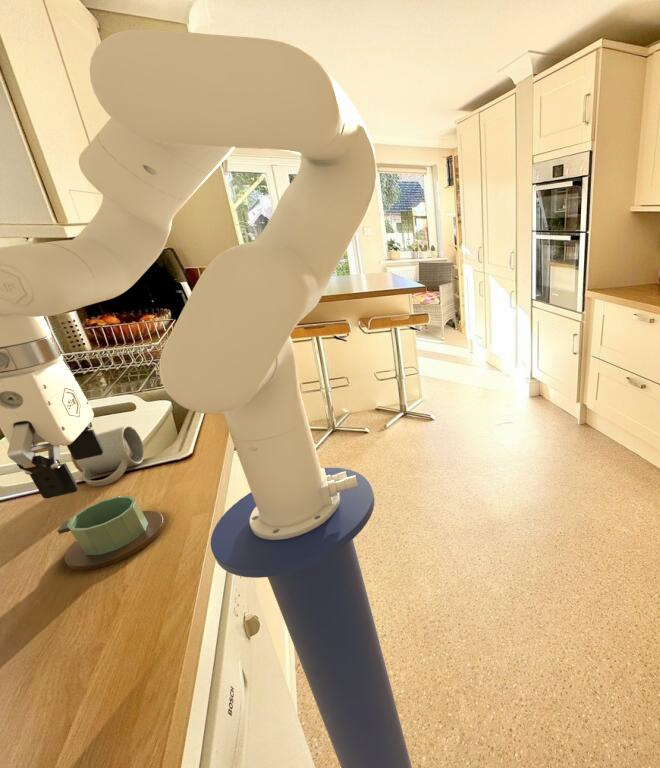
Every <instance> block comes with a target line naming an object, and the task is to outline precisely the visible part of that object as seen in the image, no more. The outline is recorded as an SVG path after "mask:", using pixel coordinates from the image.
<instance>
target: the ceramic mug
mask: <svg viewBox="0 0 660 768" xmlns="http://www.w3.org/2000/svg"><path fill="white" fill-rule="evenodd" d="M95 434H96V436H97V438H98V440H99V442H100V444H101V446H102V448H103V450H104V452H103V454H102V455H99V456H94V457H89V458H85V459H80V460H75V459H73V457H72V455H71V454H70V458H71V461H72V464H73V465H74V468H76V469H77V470H78V472H80V473H81V477H82V479H83V481H84V482H85V483H86V484H88V485H89V486H92V487H104V486H107V485H110V484H112V483H115V482H117V480H119V479H120V478H121V477H122V476H123V475H124V473H125V472H126V470H127V468H129V467H130V468H131V467H134V466H138V465H140V464H141V463H142V462H143V461H144V459H145V447H144V446H145V445H144V444H143V441H142V439H141V436H140V435H139V433H138V432H137V430H136V429H135V428H134V427H132V426H130V425H124V426H120V427H116V428H112V429H109V430H108V429H107V430H105V431H102V432H97V433H95ZM110 471H111V472H112V471H114V472H113V473H111V474H110V475H109V476H107V477H105V478H103V479H99V480H92V479H90V477H91V475H98V474H99V475H100V474H103V473H107V472H110Z"/></svg>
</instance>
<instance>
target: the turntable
mask: <svg viewBox="0 0 660 768" xmlns="http://www.w3.org/2000/svg"><path fill="white" fill-rule="evenodd" d="M142 512H143V514H144V516H145V518H146V520H147V522H148V525H147V527H146V530H145V532H143V533H142V534H141V535H140V536H139V537H138V538H136V539H135V540H134V541H132V542H131V543H129V544H127V545H125V546H123V547H121V548H119V549H117V550H114V551H111V552H108V553H105V554H101V555H86V554H85V553H84V552H83V551H82V550H81V548H80V547H79V545H78V543H77V542H76V540H75V541H74V542H72V544H71V545H70V546H69V547H68V548H67V550H66V551H65V553H64V556H63V557H64V558H63V559H64V562H65V564H66V565H67V567H68V568H70V569H71V570H75V571H91V570H96V569H101V568H104V567H107V566H110V565H114V564H116V563H118V562H120V561H123V560H126V559H127V558H129V557H131V556H133V555H135V554H136V553H137V552H140V551H141V550H143V549H144V548H146V547H147V546H148V545H150V544H151V543H152V542H154V540H156V539H157V537H159V535H160V534H161V533H162V531H163V530H164V528H165V525H166V524H165V523H166V522H165V519H164V517H163V515H162V514H161V513H160V512H158V511H154V510H142Z"/></svg>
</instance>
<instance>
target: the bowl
mask: <svg viewBox="0 0 660 768" xmlns="http://www.w3.org/2000/svg"><path fill="white" fill-rule="evenodd" d="M142 511H143V510H142V508H141V507H140V504H139V503H138V500H137V499H136V498H135V497H133V496H132V495H117V496H114V497H110V498H105V499H103V500H100V501H97V502H96V503H93V504H91V505H89V506H86V507H85V508H83V509H82V510H80V511H79V512H78V513H76V514H74V515H73V516H72V517H71V519H70V520H66V521H62V523H61V525H60V526H59V528H58V529H57V533H58V534H59V535H62V534H65V533H69V532H70V534H71V535H72V538H73V539H74V540H75V541H76V542H77V543H78V545H79V547H80V548H81V550H82V551H83V552H84V553H85V554H86V555H101V554H105V553H108V552H111V551H114V550H117V549H119V548H121V547H123V546H125V545H127V544H129V543H131V542H132V541H134V540H135V539H136V538H138V537H139V536H140V535H141V534H142V533H143V532H145V530H146V527H147V525H148V522H147V520H146V518H145V516H144V514H143V512H142Z"/></svg>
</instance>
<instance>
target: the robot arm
mask: <svg viewBox="0 0 660 768" xmlns="http://www.w3.org/2000/svg"><path fill="white" fill-rule="evenodd" d="M89 77H90V78H89V79H90V83H91V86H92V90H93V93H94V94H95V97H96V99H97V101H98V102H99V104H100V105H101V107H102V108H103V110H104V111H105V112H106V113H107V114H108V116H109V119H108V120H107V121H106V123H105V124H104V125H103V126H102V128H101V129H100V130H99V131H98V132H97V134H96V135H95V136H94V138H93V139H92V140H91V141H90V143H88V144H87V146H86V147H85V148H84V149H83V150H82V151H81V153H80V154H79V157H78V165H79V169H80V171H81V173H82V175H83V176H84V178H85V179H86V180H87V181H88V183H90V184H91V186H92V187H94V188H95V190H97V191H98V192H99V193H100V194H101V195H102V201H101V204H100V207H99V208H98V210H97V212H96V213H95V214H94V216H93V217H92V218H91V220H90V221H89V222H88V224H86V225H85V227H84V228H83V229H82V230H81V231H80V232H79V234H77V235H76V236H75V237H74V238H72V239H64V240H63V239H62V240H55V241H44V242H35V243H28V244H27V243H25V244H16V245H9V246H2V247H0V430H1V432H2V434H3V436H4V438H5V439H6V440H7V442H8V444H9V445H8V449H7V457H8V458H9V459H10V460H11V461H13V462H14V463H16V466H17V467H18V468H19V469H20V470H23V471H24V474H25V475H27V476H30V479H31V480H32V482H33V483H34V485H35V487H36V488H37V490H38V492H39V493H40V495H41V497H42V498H43V499H46V500H47V499H52V498H56V497H60V496H61V497H62V496H65V495H70V494H73V493H76V492H78V490H79V487H80V486H79V485H78V483H77V482H76V480H75V478H74V476H73V474H72V472H71V470H70V469H69V467H68V465H67V463H66V462H65V463H61V449H60V446H63V447H67V449H68V451H69V453H70V456H71V455H72V457H73V459H75V460H80V459H85V458H89V457H94V456H99V455H102V454H103V452H104V450H103V448H102V446H101V444H100V442H99V440H98V438H97V436H96V434H97V433H96V432H95V430H94V429H93V423H92V420H94V411H93V409H92V407H91V405H90V402H89V401H88V399H87V397H86V396H85V394H84V392H83V390H82V388H81V386H80V385H79V382H78V381H77V380H76V378H75V376H74V375H73V373H72V371H71V370H70V368H69V367H68V366H67V364H66V363H65V361H64V357H63V354H62V353H61V350H60V348H59V347H58V345H57V342H56V340H55V338H54V336H53V335H52V331H51V330H50V327H49V326H48V323H47V321H46V319H45V318H44V317H50V316H57V315H60V314H61V315H62V314H64V313H68V312H71V311H74V310H75V311H76V310H77V309H81V308H83V307H87V306H90V305H94V304H98V303H101V302H104V301H109V300H111V299H115V298H116V297H119V296H121V295H122V294H124V293H125V292H127V291H128V290H129V289H130V288H132V287H133V286H134V285H135V284H136V283H137V282H138V280H140V279H141V277H142V276H143V275H144V274H145V273H146V272H147V271H148V270H149V269H150V267H152V265H153V264H154V263H155V262H156V261H157V259H158V258H159V257H160V255H161V254H162V253H163V250H164V249H165V247H166V244H167V241H168V238H169V236H170V233H171V230H172V222H173V219H174V218H175V217H176V215H177V214H178V213H179V211H181V209H182V208H183V207H184V205H185V204H186V203H188V201H189V200H190V199H191V197H192V196H193V195H194V194H195V193H196V192H197V190H198V189H199V188H200V187H201V186H202V185H203V184H204V183H205V182H206V180H207V179H208V178H209V177H210V176H211V175H212V174H213V173H214V172H215V171H216V169H218V168H219V166H220V165H221V164H222V163H223V162H224V161H225V160H226V159H227V157H228V156H229V155H230V154H231V153H232V152H233V150H234V149H253V150H255V149H256V150H269V151H270V150H272V151H281V152H282V151H284V152H291V153H294V154H296V155H298V156H299V157H300V164H299V169H298V171H297V173H296V175H295V176H294V177H293V179H292V180H291V182H290V183H289V185H288V186H287V187H286V189H285V190H284V192H283V193H282V195H281V197H280V199H279V200H278V202H277V204H276V207H275V209H274V211H273V213H272V215H271V216H270V218H269V220H268V222H267V223H266V225H265V226H264V228H263V230H262V231H261V232H260V234H259V235H258V237H257V238H256V239H254V240H252V241H250V242H246V243H241V244H238V245H235V246H232V247H229V248H227V249H225V250H224V251H221V252H220V253H219V254H218V255H217V256H216V257H214V258H213V259H212V260H211V262H210V263H208V265H207V266H206V267H205V268H204V270H203V271H202V273H201V275H200V276H199V278H198V280H197V281H196V283H195V285H194V287H193V289H192V291H191V293H190V295H189V297H188V299H187V300H186V302H185V305H184V306H183V308H182V310H181V312H180V314H179V316H178V318H177V320H176V322H175V324H174V326H173V328H172V330H171V331H170V334H169V335H168V337H167V340H166V342H165V344H164V346H163V348H162V351H161V354H160V357H159V364H158V365H159V366H158V370H159V378H160V381H161V384H162V386H163V389H164V390H165V391H166V394H167V395H168V396H169V397H170V398H171V399H172V400H173V401H174V402H175V403H176V404H177V405H179V406H181V407H183V408H184V409H187V410H189V411H191V412H195V413H199V414H204V415H217V414H218V415H219V414H223V416H224V419H225V423H226V426H227V428H228V431H229V435H230V438H231V440H232V443H233V446H234V448H235V451H236V455H237V457H238V459H239V462H240V465H241V468H242V470H243V473H244V476H245V478H246V481H247V485H248V487H249V489H250V492H252V495H253V498H254V501H255V503H256V507H255V508H254V510H253V512H252V513H251V516H250V519H249V524H250V527H251V529H252V531H253V533H254V534H255V535H257V536H258V537H260V538H263V539H269V540H282V539H288V538H292V537H296V536H299V535H302V534H304V533H307V532H309V531H311V530H313V529H315V528H317V527H318V526H320V525H321V524H323V523H324V522H325V521H326V520H327V519H329V518H330V517H331V516H332V515H333V513H334V512H335V511H336V509H337V508H338V505H339V503H340V495H339V492H342V491H345V490H350V489H353V488H356V487H358V484H357V480H356V476H355V475H354V476H351V477H348V478H347V475H346V471H345V472H342V473H338V474H336V475H333V476H330V475H327V476H326V474H325V470H324V468H325V467H321V463H320V459H319V455H318V452H317V449H316V448H317V447H316V445H315V440H314V438H313V434H312V430H311V426H310V422H309V419H308V414H307V410H306V408H305V404H304V403H305V402H304V400H303V396H302V392H301V385H300V381H299V374H298V367H297V360H296V352H295V351H296V350H295V347H294V343H293V339H292V337H291V335H292V333H293V332H294V329H295V328H296V327H297V326H298V324H299V323H300V322H301V321H302V320H303V319H304V318H306V317H307V315H309V314H310V313H311V312H312V311H313V310H314V309H315V308H316V307H317V305H318V304H319V302H320V301H321V299H322V296H323V294H324V292H325V290H326V288H327V286H328V284H329V283H330V280H331V279H332V276H333V275H334V273H335V271H336V270H337V268H338V266H339V265H340V263H341V261H342V259H343V258H344V257H345V255H346V252H347V251H348V248H349V247H350V245H351V243H352V241H353V239H354V238H355V236H356V234H357V233H358V231H359V228H360V227H361V225H362V223H363V222H364V220H365V218H366V216H367V214H368V212H369V209H370V207H371V204H372V202H373V198H374V194H375V191H376V185H377V171H378V169H377V159H376V152H375V149H374V146H373V142H372V140H371V136H370V135H369V132H368V130H367V128H366V125H365V124H364V121H363V120H362V118H361V116H360V114H359V113H358V111H357V109H356V107H355V106H354V104H353V103H352V101H351V100H350V98H349V97H348V95H347V94H346V93H345V91H344V90H343V89H342V87H341V86H340V85H339V84H338V83H337V82H336V81H335V80H334V78H333V77H332V76H331V74H330V73H329V72H328V70H326V69H325V68H324V67H323V65H321V63H319V61H317V60H316V59H315V58H314V57H313V56H312V55H310V54H309V53H307V52H305V51H304V50H302V49H301V48H299V47H297V46H294V45H291V44H290V43H286V42H283V41H279V40H273V39H269V38H261V37H249V36H240V35H239V36H238V35H224V34H209V33H199V32H189V31H177V30H176V31H175V30H165V29H164V30H163V29H151V28H150V29H149V28H148V29H147V28H134V29H127V30H121V31H119V32H116V33H113V34H110V35H109V36H107V37H105V38H104V39H103V40H101V42H100V43H99V44H98V45H97V46H96V48H95V49H94V51H93V53H92V56H91V58H90V64H89ZM40 443H42V444H40ZM44 452H47V453H48V454H47V455H48V457H46V456H43V455H40V454H39V453H44ZM36 454H39V455H36ZM321 468H322V469H321Z"/></svg>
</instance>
